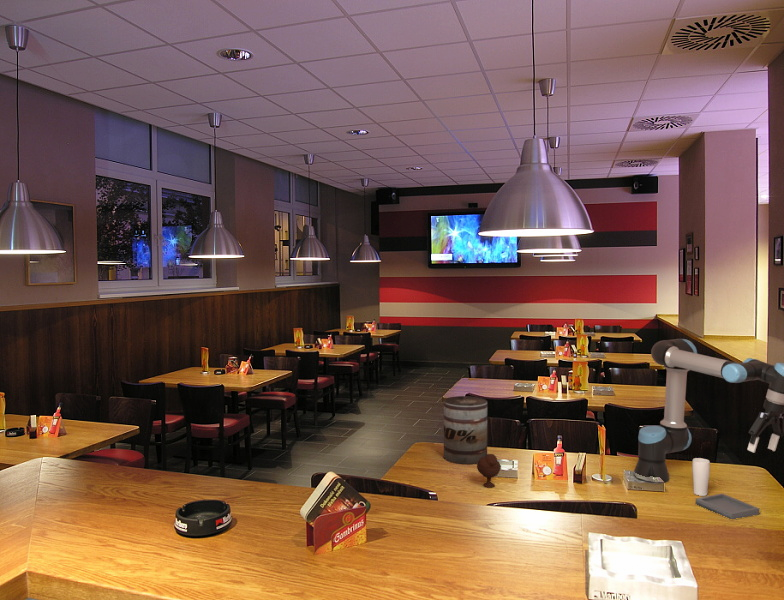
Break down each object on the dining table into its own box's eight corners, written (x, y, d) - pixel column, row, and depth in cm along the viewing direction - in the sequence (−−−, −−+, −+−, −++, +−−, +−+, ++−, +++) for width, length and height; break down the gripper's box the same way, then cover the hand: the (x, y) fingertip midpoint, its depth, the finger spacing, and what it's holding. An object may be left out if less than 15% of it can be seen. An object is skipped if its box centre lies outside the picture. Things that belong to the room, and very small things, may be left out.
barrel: (434, 456, 316) (434, 400, 314) (465, 448, 329) (465, 394, 328) (464, 467, 298) (464, 407, 296) (496, 458, 311) (496, 401, 310)
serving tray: (695, 504, 250) (695, 498, 250) (722, 499, 255) (722, 493, 255) (731, 520, 234) (731, 514, 234) (759, 514, 240) (759, 508, 239)
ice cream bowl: (502, 482, 276) (502, 450, 276) (498, 491, 266) (498, 458, 265) (479, 480, 280) (479, 448, 279) (474, 488, 269) (474, 455, 269)
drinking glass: (711, 497, 257) (712, 463, 256) (694, 496, 258) (695, 462, 258) (706, 492, 264) (707, 458, 263) (689, 490, 265) (690, 457, 264)
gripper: (766, 405, 232) (751, 456, 236) (803, 404, 243) (788, 453, 247) (747, 398, 238) (733, 447, 242) (785, 397, 250) (770, 444, 253)
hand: (761, 450), depth 245 cm, fingers open, 13 cm apart
